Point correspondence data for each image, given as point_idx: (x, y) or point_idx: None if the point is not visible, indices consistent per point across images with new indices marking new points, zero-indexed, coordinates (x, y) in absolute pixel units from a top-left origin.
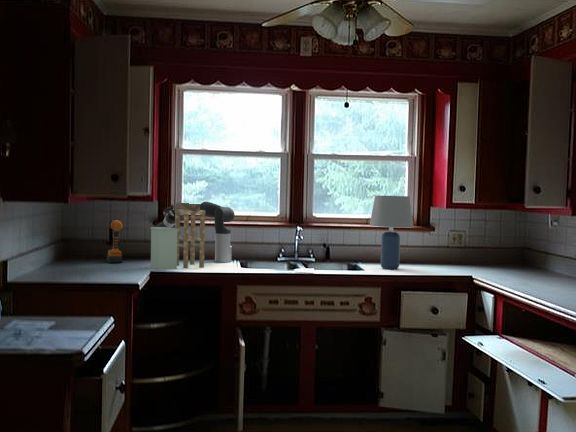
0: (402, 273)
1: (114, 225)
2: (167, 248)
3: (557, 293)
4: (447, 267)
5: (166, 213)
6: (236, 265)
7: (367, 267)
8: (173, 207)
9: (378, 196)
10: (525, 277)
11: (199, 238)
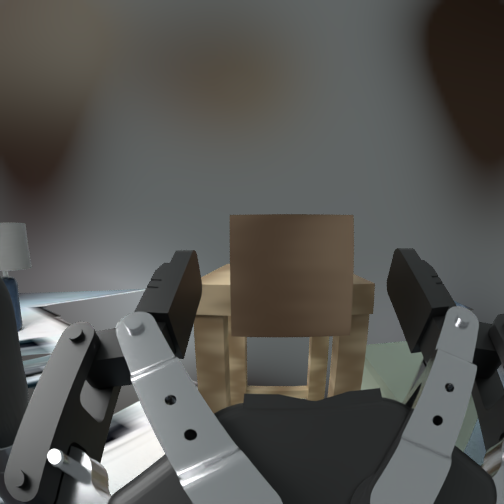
0: (46, 322)
1: None
2: None
3: (94, 292)
4: None
5: (486, 424)
6: (108, 454)
7: None
8: (389, 286)
9: (16, 224)
10: (28, 298)
11: (254, 387)
